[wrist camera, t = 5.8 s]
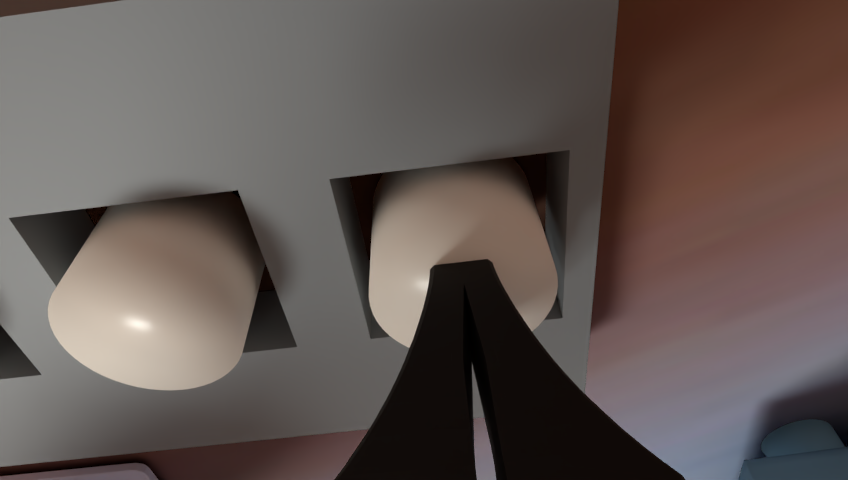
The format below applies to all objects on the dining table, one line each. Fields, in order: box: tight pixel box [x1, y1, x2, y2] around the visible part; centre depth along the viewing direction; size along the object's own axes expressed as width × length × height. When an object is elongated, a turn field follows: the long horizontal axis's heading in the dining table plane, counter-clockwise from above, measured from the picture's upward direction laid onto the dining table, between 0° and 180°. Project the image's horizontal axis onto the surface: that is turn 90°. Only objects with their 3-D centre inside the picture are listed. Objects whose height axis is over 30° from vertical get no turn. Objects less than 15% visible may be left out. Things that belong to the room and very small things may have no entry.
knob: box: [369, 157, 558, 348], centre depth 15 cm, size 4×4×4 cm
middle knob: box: [48, 191, 265, 390], centre depth 15 cm, size 4×4×4 cm
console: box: [0, 0, 619, 467], centre depth 16 cm, size 14×22×2 cm, turn 97°
